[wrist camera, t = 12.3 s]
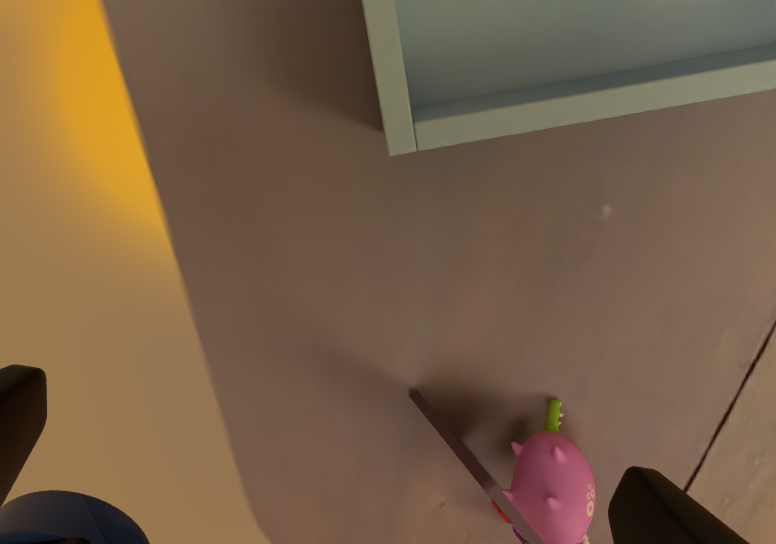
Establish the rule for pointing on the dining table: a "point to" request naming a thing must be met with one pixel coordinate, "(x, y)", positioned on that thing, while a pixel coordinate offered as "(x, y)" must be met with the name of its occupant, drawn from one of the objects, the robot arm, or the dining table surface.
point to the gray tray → (556, 62)
